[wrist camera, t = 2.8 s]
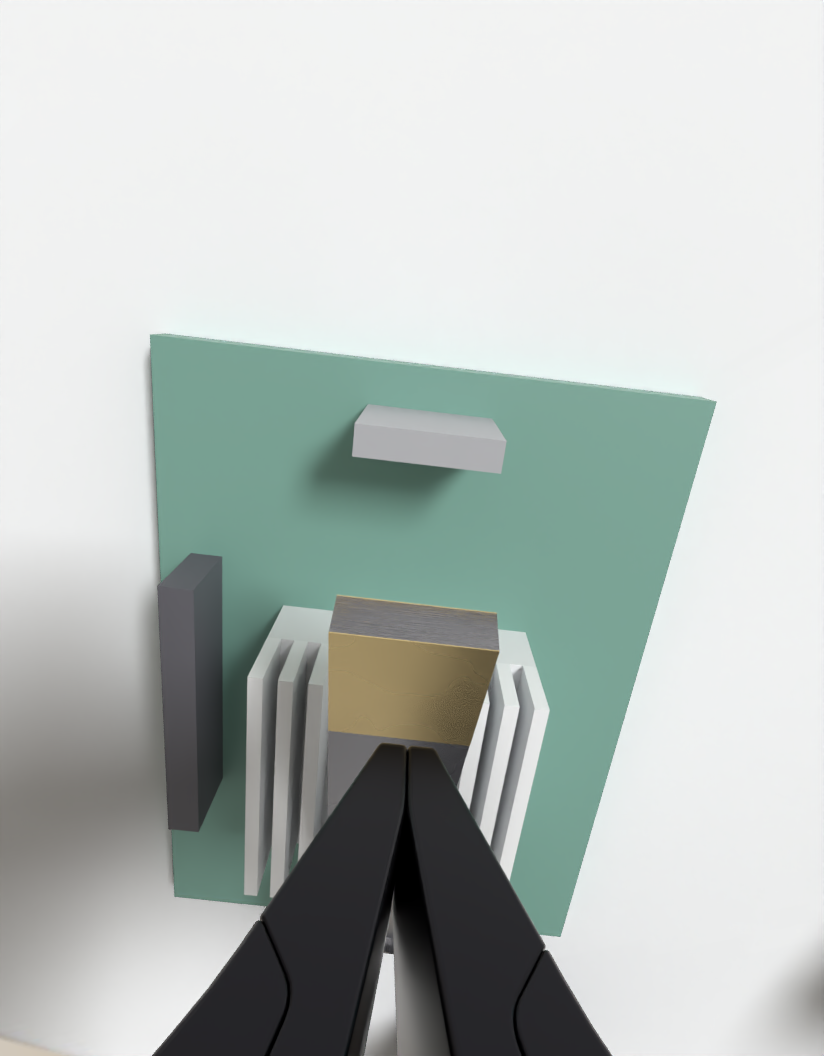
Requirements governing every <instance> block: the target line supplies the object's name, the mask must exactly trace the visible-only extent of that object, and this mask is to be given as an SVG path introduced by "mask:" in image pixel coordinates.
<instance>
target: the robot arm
mask: <svg viewBox="0 0 824 1056" xmlns="http://www.w3.org/2000/svg"><path fill="white" fill-rule="evenodd" d="M392 900H393V943H394V972H395V1002H396V1031H397V1056H612V1055H611V1053H610V1052H609V1050H608V1049H607V1047H606V1046H605V1044H604V1043H603V1041H602V1040H601V1038H600V1037H599V1035H598V1034H597V1032H596V1031H595V1029H594V1028H593V1026H592V1024H591V1023H590V1021H589V1019H588V1018H587V1016H586V1014H585V1013H584V1011H583V1009H582V1007H581V1006H580V1004H579V1002H578V1001H577V999H576V997H575V996H574V994H573V992H572V991H571V989H570V987H569V986H568V984H567V982H566V981H565V979H564V977H563V975H562V973H561V972H560V970H559V968H558V966H557V964H556V963H555V961H554V959H553V957H552V955H551V954H550V952H549V951H548V950H545V944H544V942H543V940H542V938H541V936H540V935H539V933H538V931H537V929H536V928H535V926H534V924H533V922H532V920H531V919H530V917H529V915H528V913H527V911H526V910H525V908H524V906H523V904H522V903H521V901H520V899H519V897H518V895H517V894H516V892H515V890H514V888H513V887H512V885H511V883H510V881H509V879H508V878H507V876H506V874H505V872H504V871H503V869H502V867H501V865H500V863H499V862H498V860H497V858H496V856H495V855H494V853H493V851H492V849H491V847H490V846H489V844H488V842H487V840H486V839H485V837H484V835H483V833H482V831H481V830H480V828H479V826H478V824H477V823H476V821H475V819H474V817H473V815H472V814H471V812H470V810H469V808H468V807H467V805H466V803H465V801H464V799H463V798H462V796H461V794H460V792H459V791H458V789H457V787H456V785H455V783H454V782H453V780H452V778H451V776H450V775H449V773H448V771H447V769H446V767H445V766H444V764H443V762H442V760H441V759H440V757H439V755H438V753H437V752H436V750H435V749H433V748H429V747H420V746H410V747H409V748H408V749H407V748H406V746H405V745H401V744H392V743H381V744H379V745H378V747H377V748H376V749H375V751H374V752H373V754H372V755H371V757H370V758H369V760H368V761H367V762H366V764H365V765H364V767H363V768H362V770H361V771H360V773H359V774H358V775H357V777H356V778H355V780H354V781H353V783H352V784H351V786H350V787H349V788H348V790H347V791H346V793H345V794H344V796H343V797H342V799H341V800H340V802H339V803H338V804H337V806H336V807H335V809H334V810H333V812H332V813H331V815H330V816H329V817H328V819H327V820H326V822H325V823H324V825H323V826H322V828H321V829H320V830H319V832H318V833H317V835H316V836H315V838H314V839H313V841H312V842H311V843H310V845H309V846H308V848H307V849H306V851H305V852H304V854H303V855H302V856H301V858H300V859H299V861H298V862H297V864H296V865H295V867H294V868H293V869H292V871H291V872H290V874H289V875H288V877H287V878H286V880H285V881H284V882H283V884H282V885H281V887H280V888H279V890H278V891H277V893H276V894H275V895H274V897H273V898H272V900H271V901H270V903H269V904H268V906H267V907H266V908H265V910H264V911H263V913H262V914H261V916H260V921H256V922H255V924H254V925H253V927H252V928H251V930H250V931H249V933H248V934H247V935H246V937H245V938H244V940H243V941H242V943H241V944H240V946H239V947H238V948H237V950H236V951H235V952H234V954H233V955H232V957H231V958H230V959H229V961H228V962H227V963H226V965H225V966H224V967H223V969H222V970H221V971H220V973H219V974H218V976H217V977H216V978H215V980H214V981H213V982H212V984H211V985H210V986H209V988H208V989H207V990H206V991H205V993H204V994H203V995H202V996H201V998H200V999H199V1000H198V1001H197V1002H196V1004H195V1005H194V1006H193V1007H192V1008H191V1010H190V1011H189V1012H188V1013H187V1015H186V1016H185V1017H184V1018H183V1019H182V1021H181V1022H180V1023H179V1024H178V1025H177V1027H176V1028H175V1029H174V1030H173V1032H172V1033H171V1034H170V1035H169V1036H168V1037H167V1039H166V1040H165V1041H164V1042H163V1043H162V1044H161V1046H160V1047H159V1048H158V1049H157V1050H156V1051H155V1053H154V1054H153V1055H152V1056H364V1052H365V1046H366V1041H367V1036H368V1031H369V1025H370V1020H371V1015H372V1010H373V1004H374V999H375V994H376V989H377V983H378V978H379V973H380V968H381V962H382V957H383V952H384V947H385V942H386V936H387V931H388V926H389V920H390V913H391V907H392Z"/></svg>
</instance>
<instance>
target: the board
mask: <svg viewBox="0 0 824 1056" xmlns="http://www.w3.org/2000/svg"><path fill="white" fill-rule="evenodd" d="M150 346H151V369H152V392H153V415H154V438H155V461H156V484H157V507H158V530H159V552H160V575H161V583H160V584H159V585H158V608H159V630H160V652H161V674H162V695H163V717H164V739H165V761H166V782H167V804H168V826H169V829H172V851H173V874H174V897H183V898H192V899H202V900H212V901H221V902H231V903H240V904H250V905H260V906H268V904H269V903H270V901H271V900H272V898H273V897H274V895H275V894H276V893H277V891H278V890H279V888H280V887H281V885H282V884H283V882H284V881H285V880H286V878H287V877H288V875H289V874H290V872H291V871H292V869H293V868H294V867H295V865H296V864H297V862H298V861H299V859H300V858H301V856H302V855H303V854H304V852H305V851H306V849H307V848H308V846H309V845H310V843H311V842H312V841H313V839H314V838H315V836H316V835H317V833H318V832H319V830H320V829H321V828H322V826H323V825H324V823H325V822H326V820H327V819H328V632H329V628H330V623H331V619H332V614H333V610H334V605H335V601H336V596H337V595H344V596H353V597H362V598H371V599H379V600H388V601H397V602H406V603H415V604H424V605H433V606H442V607H451V608H460V609H469V610H478V611H486V612H495V613H497V621H498V636H499V650H500V652H499V655H498V658H497V661H496V665H495V668H494V671H493V674H492V677H491V681H490V684H489V687H488V690H487V693H486V696H485V700H484V703H483V706H482V709H481V712H480V716H479V719H478V722H477V725H476V728H475V731H474V735H473V738H472V741H471V744H470V746H469V750H468V753H467V756H466V759H465V762H464V766H463V769H462V772H461V775H460V778H459V781H458V785H457V789H458V791H459V792H460V794H461V796H462V798H463V799H464V801H465V803H466V805H467V807H468V808H469V810H470V812H471V814H472V815H473V817H474V819H475V821H476V823H477V824H478V826H479V828H480V830H481V831H482V833H483V835H484V837H485V839H486V840H487V842H488V844H489V846H490V847H491V849H492V851H493V853H494V855H495V856H496V858H497V860H498V862H499V863H500V865H501V867H502V869H503V871H504V872H505V874H506V876H507V878H508V879H509V881H510V883H511V885H512V887H513V888H514V890H515V892H516V894H517V895H518V897H519V899H520V901H521V903H522V904H523V906H524V908H525V910H526V911H527V913H528V915H529V917H530V919H531V920H532V922H533V924H534V926H535V928H536V929H537V931H538V933H539V935H548V936H558V937H560V936H561V933H562V929H563V926H564V923H565V919H566V916H567V912H568V909H569V905H570V902H571V899H572V895H573V892H574V888H575V885H576V881H577V878H578V875H579V871H580V868H581V864H582V861H583V857H584V854H585V851H586V847H587V844H588V840H589V837H590V834H591V830H592V827H593V823H594V820H595V816H596V813H597V810H598V806H599V803H600V799H601V796H602V792H603V789H604V786H605V782H606V779H607V775H608V772H609V769H610V765H611V762H612V758H613V755H614V751H615V748H616V745H617V741H618V738H619V734H620V731H621V727H622V724H623V721H624V717H625V714H626V710H627V707H628V703H629V700H630V697H631V693H632V690H633V686H634V683H635V680H636V676H637V673H638V669H639V666H640V662H641V659H642V656H643V652H644V649H645V645H646V642H647V638H648V635H649V632H650V628H651V625H652V621H653V618H654V614H655V611H656V608H657V604H658V601H659V597H660V594H661V591H662V587H663V584H664V580H665V577H666V573H667V570H668V567H669V563H670V560H671V556H672V553H673V549H674V546H675V543H676V539H677V536H678V532H679V529H680V525H681V522H682V519H683V515H684V512H685V508H686V505H687V502H688V498H689V495H690V491H691V488H692V484H693V481H694V478H695V474H696V471H697V467H698V464H699V460H700V457H701V454H702V450H703V447H704V443H705V440H706V436H707V433H708V430H709V426H710V423H711V419H712V416H713V413H714V409H715V406H716V401H712V400H709V399H705V398H702V397H695V396H687V395H678V394H670V393H661V392H653V391H645V390H636V389H628V388H619V387H611V386H602V385H594V384H585V383H577V382H569V381H560V380H552V379H543V378H535V377H526V376H518V375H510V374H501V373H493V372H484V371H476V370H467V369H459V368H450V367H442V366H434V365H425V364H417V363H408V362H400V361H391V360H383V359H374V358H366V357H358V356H349V355H341V354H332V353H324V352H315V351H307V350H299V349H290V348H282V347H273V346H265V345H256V344H248V343H239V342H231V341H223V340H214V339H206V338H197V337H189V336H180V335H172V334H153V335H150Z"/></svg>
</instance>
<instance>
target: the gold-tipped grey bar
mask: <svg viewBox="0 0 824 1056" xmlns="http://www.w3.org/2000/svg"><path fill="white" fill-rule="evenodd" d="M499 652H500V650H499V636H498V621H497V613H495V612H486V611H478V610H469V609H460V608H451V607H442V606H433V605H424V604H415V603H406V602H397V601H388V600H379V599H371V598H362V597H353V596H344V595H337V596H336V601H335V605H334V610H333V614H332V619H331V623H330V628H329V632H328V817H329V816H330V815H331V813H332V812H333V810H334V809H335V807H336V806H337V804H338V803H339V802H340V800H341V799H342V797H343V796H344V794H345V793H346V791H347V790H348V788H349V787H350V786H351V784H352V783H353V781H354V780H355V778H356V777H357V775H358V774H359V773H360V771H361V770H362V768H363V767H364V765H365V764H366V762H367V761H368V760H369V758H370V757H371V755H372V754H373V752H374V751H375V749H376V748H377V747H378V745H379V744H381V743H392V744H401V745H405V746H406V748H407V749H408V748H409V747H410V746H420V747H429V748H433V749H435V750H436V752H437V753H438V755H439V757H440V759H441V760H442V762H443V764H444V766H445V767H446V769H447V771H448V773H449V775H450V776H451V778H452V780H453V782H454V783H455V785H456V787H457V785H458V781H459V778H460V775H461V772H462V769H463V766H464V762H465V759H466V756H467V753H468V750H469V746H470V744H471V741H472V738H473V735H474V731H475V728H476V725H477V722H478V719H479V716H480V712H481V709H482V706H483V703H484V700H485V696H486V693H487V690H488V687H489V684H490V681H491V677H492V674H493V671H494V668H495V665H496V661H497V658H498V655H499ZM383 953H388V954H394V943H393V900H392V907H391V913H390V920H389V926H388V931H387V936H386V942H385V947H384V952H383Z"/></svg>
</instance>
